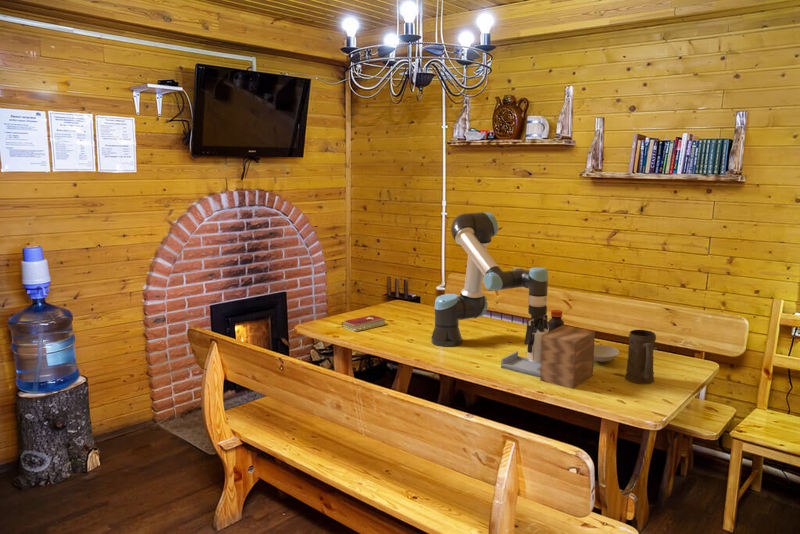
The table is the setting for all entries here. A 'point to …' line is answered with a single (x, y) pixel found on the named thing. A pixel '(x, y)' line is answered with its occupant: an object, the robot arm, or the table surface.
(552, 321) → the bottle
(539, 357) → the foam cup
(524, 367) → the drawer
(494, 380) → the table surface
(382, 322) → the hardcover book
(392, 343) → the table surface
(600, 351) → the dish
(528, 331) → the robot arm
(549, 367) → the wood grain box
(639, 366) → the beer stein
